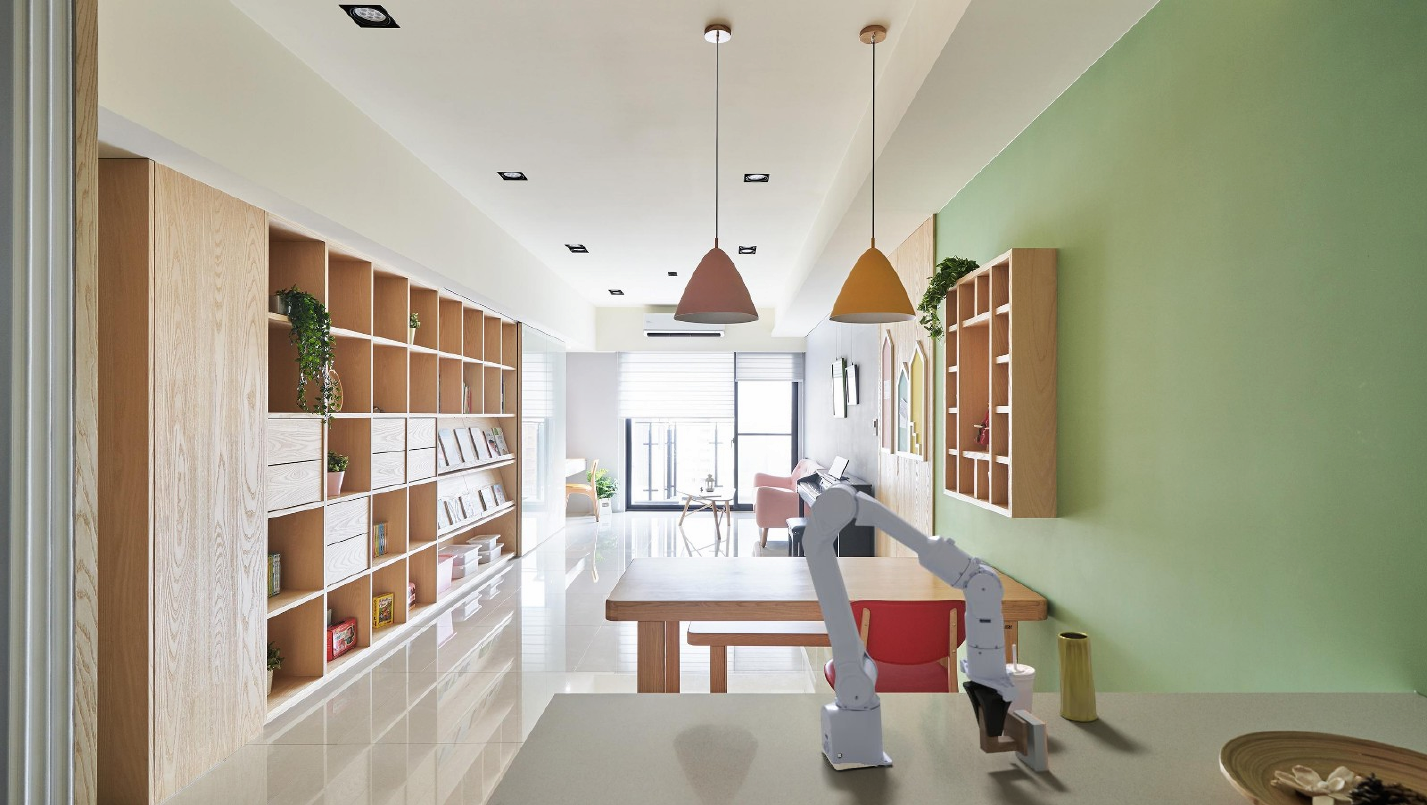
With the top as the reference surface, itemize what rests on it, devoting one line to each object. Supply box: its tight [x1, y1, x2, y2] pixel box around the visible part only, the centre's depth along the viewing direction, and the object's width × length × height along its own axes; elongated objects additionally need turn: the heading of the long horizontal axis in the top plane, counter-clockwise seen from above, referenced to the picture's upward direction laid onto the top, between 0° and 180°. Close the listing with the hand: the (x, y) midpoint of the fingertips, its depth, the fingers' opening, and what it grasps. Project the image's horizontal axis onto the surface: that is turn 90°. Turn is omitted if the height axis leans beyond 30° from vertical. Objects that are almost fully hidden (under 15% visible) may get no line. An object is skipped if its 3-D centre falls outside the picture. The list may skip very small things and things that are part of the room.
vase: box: [1057, 631, 1099, 723], centre depth 136 cm, size 6×6×14 cm
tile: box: [1013, 710, 1049, 773], centre depth 119 cm, size 2×6×7 cm, turn 8°
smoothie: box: [1006, 644, 1037, 714], centre depth 134 cm, size 6×6×14 cm
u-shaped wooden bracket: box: [978, 706, 1028, 756], centre depth 118 cm, size 6×6×6 cm
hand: (990, 732), depth 118 cm, fingers closed on u-shaped wooden bracket
